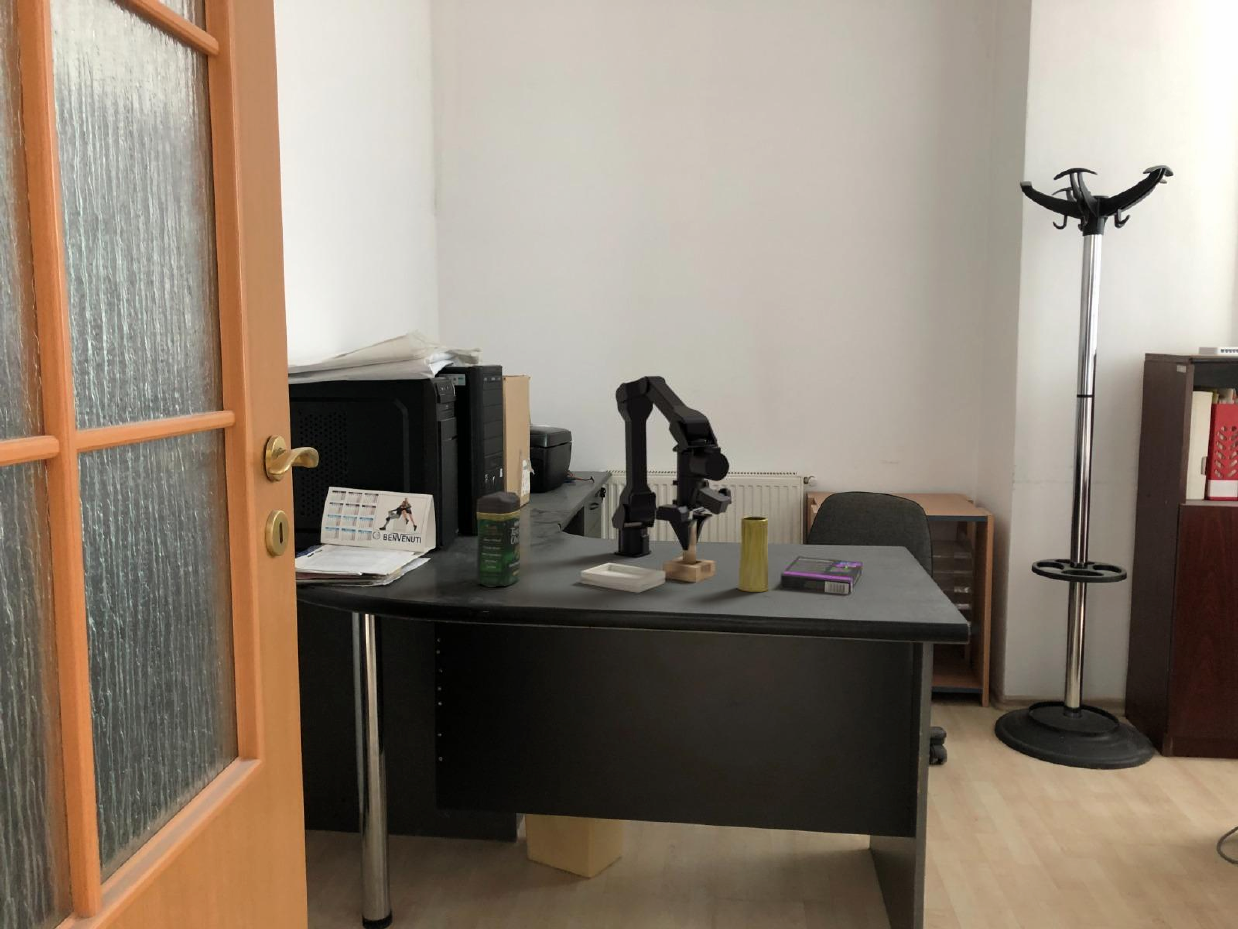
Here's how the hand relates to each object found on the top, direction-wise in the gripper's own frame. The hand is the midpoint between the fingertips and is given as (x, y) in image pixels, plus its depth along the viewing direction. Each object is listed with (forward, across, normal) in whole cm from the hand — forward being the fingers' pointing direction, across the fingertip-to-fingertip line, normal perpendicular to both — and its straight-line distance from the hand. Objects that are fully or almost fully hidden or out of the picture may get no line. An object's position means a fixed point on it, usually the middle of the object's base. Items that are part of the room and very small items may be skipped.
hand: (689, 549), depth 207 cm
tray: (+6, -13, +8) cm, 16 cm away
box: (+6, +13, -24) cm, 28 cm away
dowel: (+4, 0, 0) cm, 4 cm away
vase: (+6, -2, -16) cm, 17 cm away
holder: (+6, 0, 0) cm, 6 cm away
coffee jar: (+6, -27, +29) cm, 40 cm away
